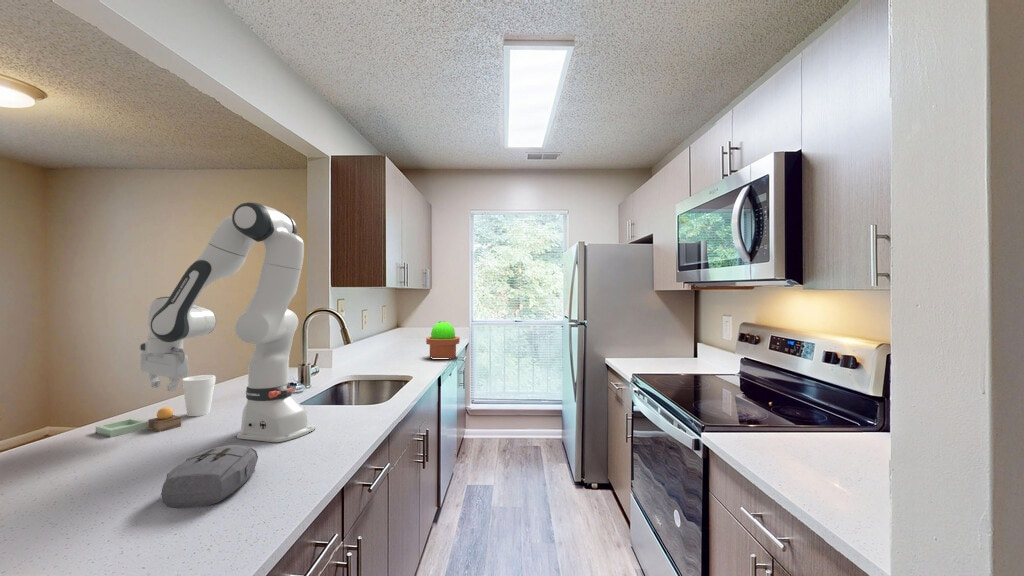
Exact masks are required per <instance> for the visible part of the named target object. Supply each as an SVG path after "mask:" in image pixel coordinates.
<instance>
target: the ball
mask: <svg viewBox="0 0 1024 576" xmlns="http://www.w3.org/2000/svg"><path fill="white" fill-rule="evenodd" d="M172 415H174V409H172V408H171V407H167V406H165V407H162V408H160V409H159V410H158V411H157V412H156V418H158V419H160V420H165V419H169V418H170V417H171V416H172Z"/></svg>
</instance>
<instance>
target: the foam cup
mask: <svg viewBox="0 0 1024 576" xmlns="http://www.w3.org/2000/svg"><path fill="white" fill-rule="evenodd" d="M181 383H182V385H181V386H182V387H183V394H184V401H185V408H186V414H187V417H189V416H196V417H202V416H201V415H203V416H206V415H208V413H209V414H210V413H211V412H210V411H211V407H212V400H213V396H214V390H215V389H214V388H215V384H216V375H213V374H205V375H204V374H202V375H193V376H187V377H184V378H182V382H181ZM205 414H206V415H205Z"/></svg>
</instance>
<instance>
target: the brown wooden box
mask: <svg viewBox="0 0 1024 576" xmlns="http://www.w3.org/2000/svg"><path fill="white" fill-rule="evenodd" d="M147 422H148V428H147V429H148V430H149V429H150V430H149V431H153V430H154V432H157V433H160V431H161V432H164V431H168V430H171V429H175V427H176V428H179V427H182V416H178V415H174V414H173V415H172V416H171V417H170V418H169V419H165V420H160V419H158V417H154V418H150V419H148V421H147Z"/></svg>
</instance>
